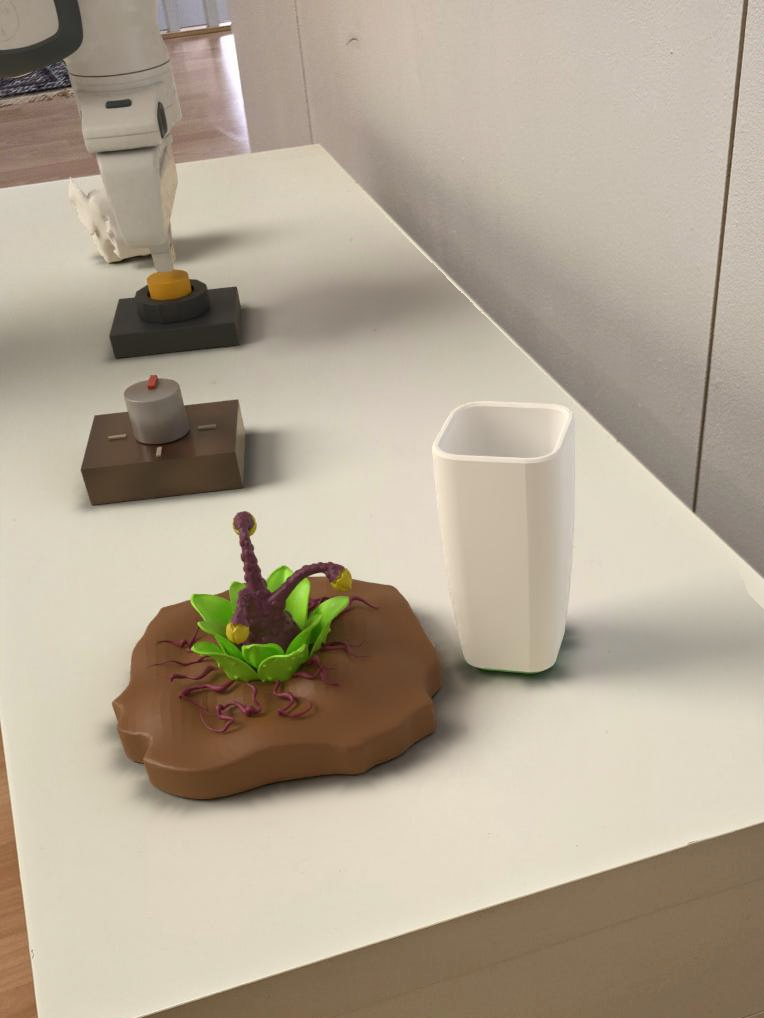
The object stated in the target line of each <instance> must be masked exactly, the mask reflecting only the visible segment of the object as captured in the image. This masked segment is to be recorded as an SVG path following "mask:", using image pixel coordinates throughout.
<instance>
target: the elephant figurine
mask: <svg viewBox="0 0 764 1018" xmlns="http://www.w3.org/2000/svg"><path fill="white" fill-rule="evenodd" d="M68 183H69V184H68V195H67V196H68V197H67V200H68V201H69V202H70V203H71V204H73V206H74V207H75V209H76V211H77V216H78V219H79V221H80V223H81V224H82V225H83V227H85V228H86V229H87V232H88V234H89V235H90V236H92V239H93V242H94V244H95V247H96V248H97V251H98V253H99V254H100V256H101V257H102V258H103V259H104V261H105V262H106V263H114V262H121V261H123V260H124V259H129V258H132V257H137V256H140V257H141V256H142V257H146V256H149V255H152V254H151V252H150V250H149V248H148V247H144V248H129V247H127V245H126V244H125V242H124V240H123V238H122V236H121V234H120V232H119V229H118V227H117V224H116V221H115V218H114V215H113V212H112V209H111V206H110V203H109V199H108V196H107V193H106V190H105V187H104V186H103V187H100V188H96V189H92V190H90V191H89V192H88V193H87V194H85V192H84V191H83V190H81V189H80V187H78V186H77V185H76V183H75V182H74V180H73V178H72V177H71V176H69V181H68Z"/></svg>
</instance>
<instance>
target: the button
mask: <svg viewBox="0 0 764 1018" xmlns="http://www.w3.org/2000/svg"><path fill="white" fill-rule="evenodd" d="M189 279H190V277H189V273H188V272H187V271H186V270H184V269H175V268H174V269H173V271H171V272H163V273H159V272H157V271H156V272H153V273H151V274H150V275H148V276H147V277H146V283H147V284H146V285H148V288H149V292H150V296H151V299H155V300H170V299H176V298H180V297H183V296H186V295H188V294H190V293H191V292H192V290H191V285H190V281H189Z"/></svg>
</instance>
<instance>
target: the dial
mask: <svg viewBox="0 0 764 1018" xmlns="http://www.w3.org/2000/svg"><path fill="white" fill-rule="evenodd" d="M123 399H124V402H125V406H126V410H127V412H128V414H129V417H130V421H131V425H132V429H133V432H134V436H135V438H136V440H138V441H139V442H141V443H145V444H164V443H168V442H172V441H175V440H178V439H180V438H182V437H183V436H185V435H186V434H187V433H188V431H189V423H188V419H187V415H186V410H185V406H184V405H185V402H184V398H183V393H182V389H181V385H180V384H179V382H177V381H176V380H173V379H170V378H159V376H158V374H150V375H149V378H148V379H144V380H142V381H137V382H136V383H133V384H131V385H130V386H128V387H127V388H126V389H125V390H124V392H123Z"/></svg>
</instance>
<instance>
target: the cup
mask: <svg viewBox="0 0 764 1018" xmlns="http://www.w3.org/2000/svg"><path fill="white" fill-rule="evenodd" d="M431 454H432V463H433V475H434V485H435V487H434V488H435V497H436V506H437V507H436V508H437V515H438V516H437V517H438V523H439V524H438V525H439V533H440V540H441V547H442V548H441V549H442V556H443V560H444V568H445V574H446V580H447V587H448V592H449V597H450V603H451V608H452V611H453V612H452V613H453V617H454V622H455V626H456V631H457V634H458V639H459V644H460V646H461V650H462V654H463V659H464V660H465V662H466V664H468V665H470V666H472V667H474V668H476V669H480V670H484V671H492V672H504V673H515V674H516V673H517V674H525V675H526V674H528V675H529V674H537V673H542V672H544V671H546V670H548V669H550V668H551V667H553V666H554V664H555V663H556V661H557V659H558V655H559V652H560V649H561V645H562V643H563V639H564V636H565V631H566V626H567V625H566V624H567V617H568V609H569V603H570V591H571V580H572V572H573V571H572V568H573V560H574V559H573V558H574V538H575V536H574V535H575V518H576V517H575V516H576V515H575V513H576V417H575V413H574V412H573V411H572V410H571V409H569V408H568V407H566V406H564V405H562V404H556V403H547V402H546V403H544V402H543V403H541V402H519V401H517V402H516V401H492V400H491V401H490V400H481V401H480V400H479V401H471V402H467V403H463V404H461V405H459V406H456V407H455V408H454V409H453V410H452V411H451V412H450V413H449V414H448V416H447V418H446V419H445V421H444V423H443V425H442V427H441V429H440V430H439V432H438V434H437V436H436V438H435V439H434V441H433V443H432V447H431Z"/></svg>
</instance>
